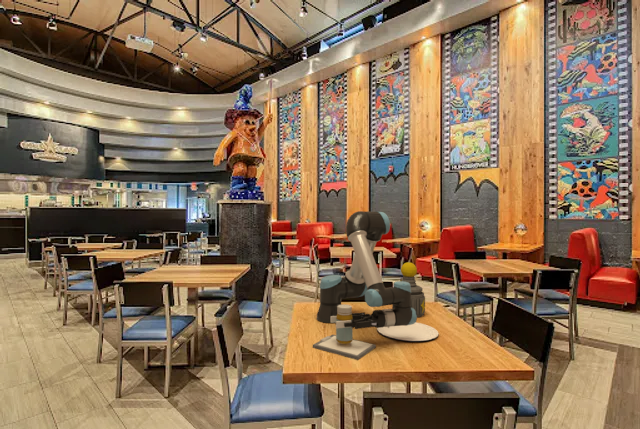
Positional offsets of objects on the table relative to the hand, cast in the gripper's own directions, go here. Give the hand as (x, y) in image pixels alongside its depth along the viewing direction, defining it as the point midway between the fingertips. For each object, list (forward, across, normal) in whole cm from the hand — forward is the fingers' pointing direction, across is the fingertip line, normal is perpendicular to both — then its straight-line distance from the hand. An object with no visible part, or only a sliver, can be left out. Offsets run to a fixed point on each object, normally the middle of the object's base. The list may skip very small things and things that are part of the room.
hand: (333, 322), depth 147 cm
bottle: (-5, 0, -9) cm, 10 cm away
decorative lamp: (-59, +40, -12) cm, 72 cm away
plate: (-41, +11, -12) cm, 44 cm away
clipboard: (-5, 0, -11) cm, 12 cm away
